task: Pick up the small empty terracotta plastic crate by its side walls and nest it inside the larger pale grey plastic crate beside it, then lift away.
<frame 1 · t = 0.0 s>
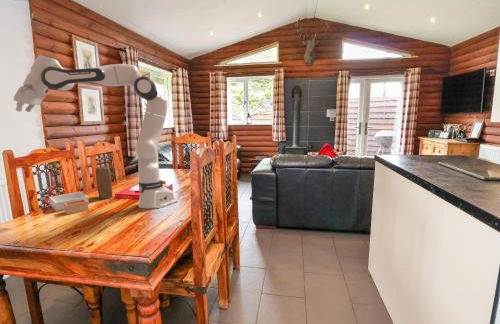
hand: (22, 111, 133), 54 cm above the table, tool tilted 30°, fingers open, 8 cm apart
small crate: (76, 210, 150), on the table
block: (105, 197, 175), on the table
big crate: (69, 205, 160), on the table
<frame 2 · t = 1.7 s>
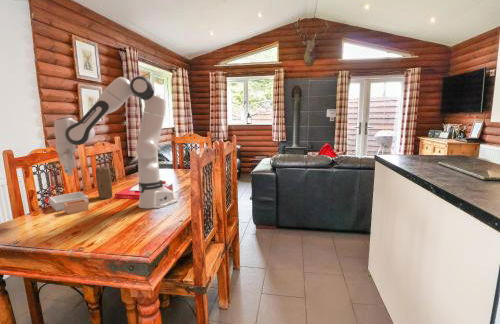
hand: (68, 174, 146), 21 cm above the table, tool pointing down, fingers open, 8 cm apart
nothing on the table moved.
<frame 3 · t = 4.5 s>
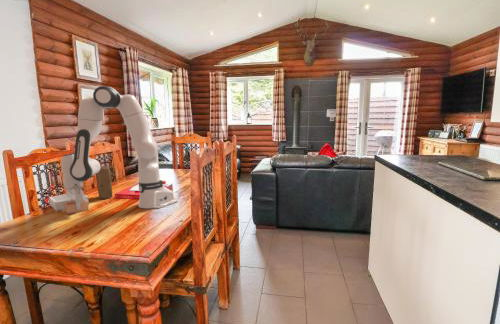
hand: (76, 207, 149), 2 cm above the table, tool pointing down, fingers closed on small crate, 6 cm apart
small crate: (76, 210, 150), on the table, touching gripper
everything else where it was.
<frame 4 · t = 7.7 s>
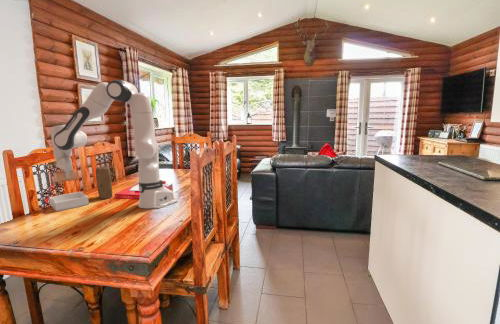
hand: (66, 176, 157), 17 cm above the table, tool pointing down, fingers closed on small crate, 6 cm apart
small crate: (66, 180, 157), point 15 cm above the table, touching gripper
everything else where it was.
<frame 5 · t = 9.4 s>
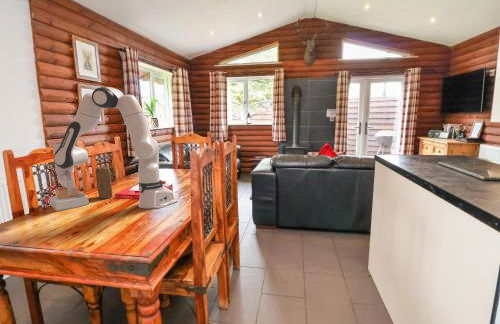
hand: (67, 193, 159), 7 cm above the table, tool pointing down, fingers closed on small crate, 6 cm apart
small crate: (68, 196, 159), point 5 cm above the table, touching gripper
everything else where it was.
when the fingers open (4 cm above the table, at t = 11.0 s): small crate drops 1 cm, resting on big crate.
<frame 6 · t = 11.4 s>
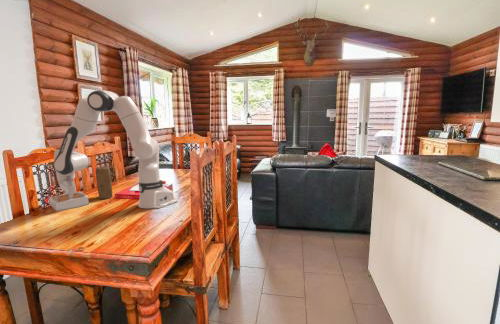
hand: (68, 198, 159), 4 cm above the table, tool pointing down, fingers open, 8 cm apart
small crate: (69, 203, 160), point 1 cm above the table, touching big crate
everything else where it was.
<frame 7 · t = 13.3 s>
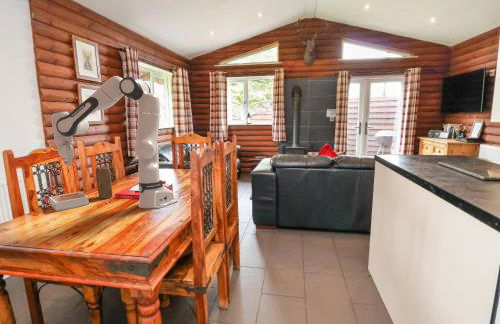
hand: (68, 164, 155), 24 cm above the table, tool pointing down, fingers open, 8 cm apart
nothing on the table moved.
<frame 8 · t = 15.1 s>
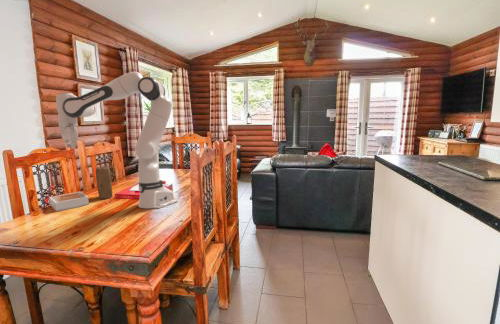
hand: (71, 147, 152), 34 cm above the table, tool pointing down, fingers open, 8 cm apart
nothing on the table moved.
at the end: small crate 0.0 cm off-centre on the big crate, point 0.8 cm above the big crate's base; small crate tilted 0°; the gripper is holding nothing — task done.
